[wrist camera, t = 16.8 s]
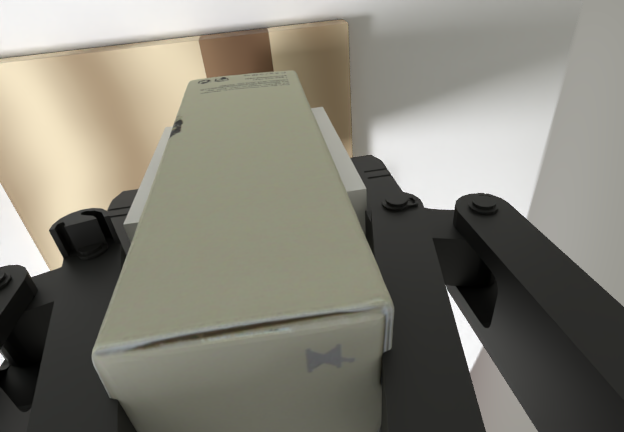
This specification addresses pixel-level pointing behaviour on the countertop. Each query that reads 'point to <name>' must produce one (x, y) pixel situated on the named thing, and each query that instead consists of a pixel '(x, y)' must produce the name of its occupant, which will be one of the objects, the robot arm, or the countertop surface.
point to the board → (137, 110)
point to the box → (247, 277)
